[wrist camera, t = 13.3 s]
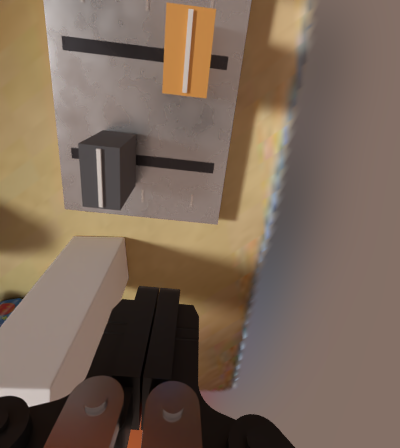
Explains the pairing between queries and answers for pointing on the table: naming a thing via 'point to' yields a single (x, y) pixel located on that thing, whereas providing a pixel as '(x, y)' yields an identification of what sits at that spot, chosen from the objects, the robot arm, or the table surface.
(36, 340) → the milk
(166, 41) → the orange fader
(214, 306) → the table surface
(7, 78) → the table surface
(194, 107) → the console
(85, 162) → the block
